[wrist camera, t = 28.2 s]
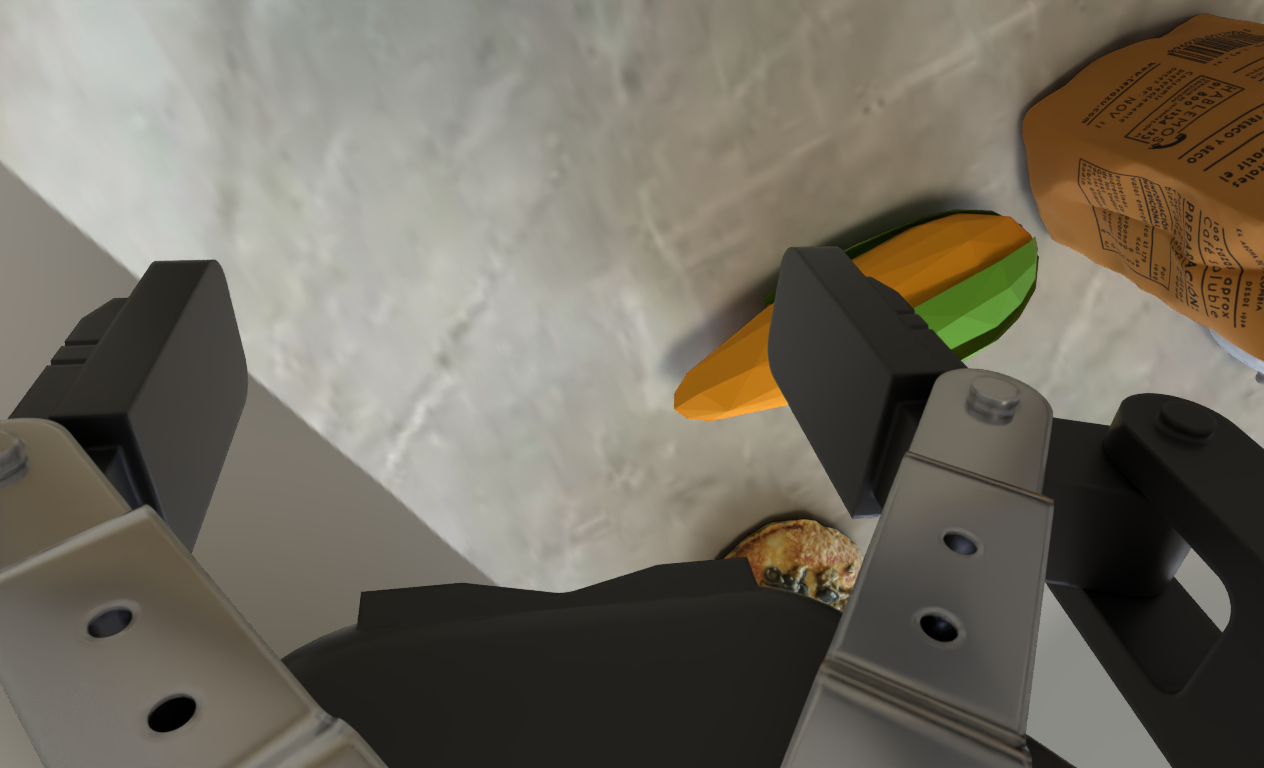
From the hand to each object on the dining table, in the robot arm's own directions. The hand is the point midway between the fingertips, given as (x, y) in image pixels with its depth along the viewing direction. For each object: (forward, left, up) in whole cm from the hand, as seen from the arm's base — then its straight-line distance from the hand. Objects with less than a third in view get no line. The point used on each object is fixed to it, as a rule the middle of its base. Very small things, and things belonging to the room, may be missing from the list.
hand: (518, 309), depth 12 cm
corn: (-8, +22, -27) cm, 36 cm away
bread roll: (+3, +39, -27) cm, 47 cm away
